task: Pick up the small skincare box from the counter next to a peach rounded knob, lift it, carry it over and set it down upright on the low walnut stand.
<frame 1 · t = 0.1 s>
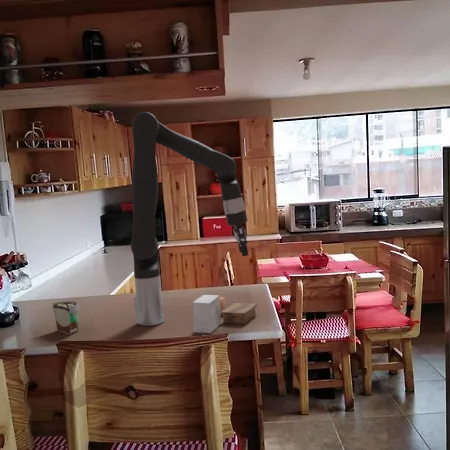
hand: (244, 253, 179), 22 cm above the kitchen counter, tool pointing down, fingers open, 8 cm apart
peach rounded knob: (219, 314, 183), on the kitchen counter
stand: (239, 318, 175), on the kitchen counter
food container: (71, 330, 176), on the kitchen counter
skincare box: (208, 328, 167), on the kitchen counter
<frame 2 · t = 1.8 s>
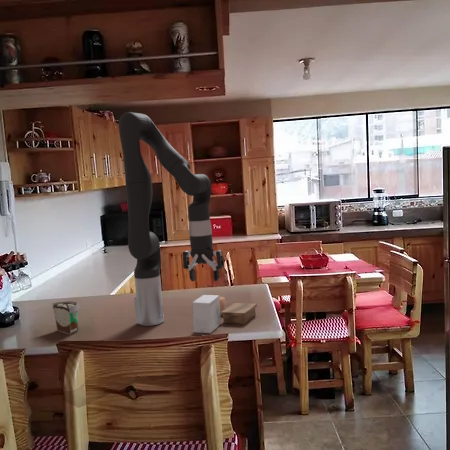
hand: (204, 280, 165), 16 cm above the kitchen counter, tool pointing down, fingers open, 8 cm apart
nothing on the kitchen counter moved.
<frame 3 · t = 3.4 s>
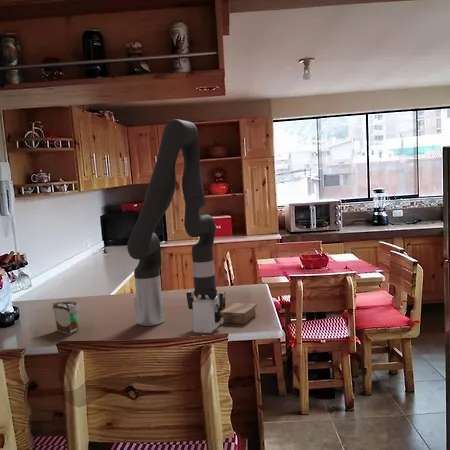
hand: (207, 321, 167), 2 cm above the kitchen counter, tool pointing down, fingers closed on skincare box, 6 cm apart
skincare box: (208, 328, 167), on the kitchen counter, touching gripper
everything else where it was.
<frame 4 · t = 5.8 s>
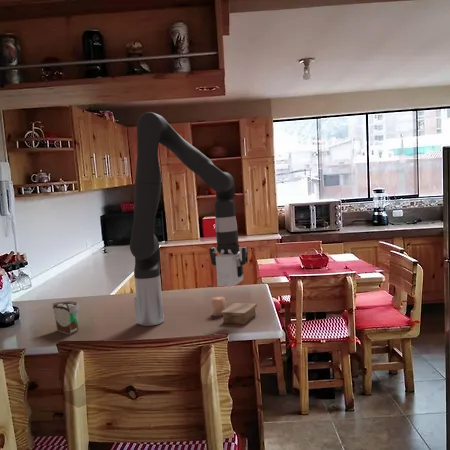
hand: (230, 276, 171), 16 cm above the kitchen counter, tool pointing down, fingers closed on skincare box, 6 cm apart
skincare box: (231, 283, 171), point 14 cm above the kitchen counter, touching gripper
everything else where it was.
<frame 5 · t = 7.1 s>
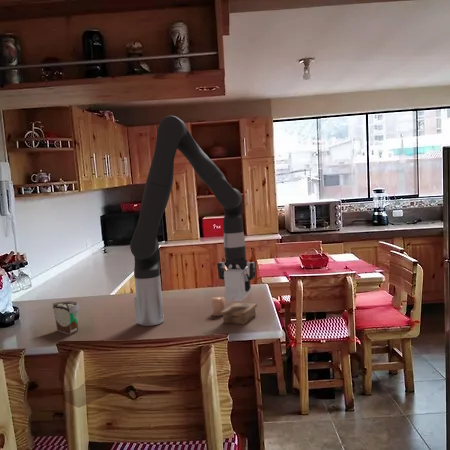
hand: (238, 290, 174), 10 cm above the kitchen counter, tool pointing down, fingers closed on skincare box, 6 cm apart
skincare box: (238, 297, 174), point 8 cm above the kitchen counter, touching gripper
everything else where it was.
when the fingers open (8 cm above the kitchen counter, at t = 8.1 s): skincare box drops 1 cm, resting on stand.
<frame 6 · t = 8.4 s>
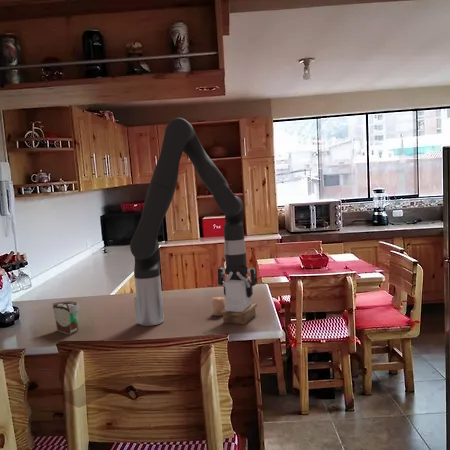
hand: (238, 296, 174), 8 cm above the kitchen counter, tool pointing down, fingers open, 8 cm apart
skincare box: (239, 308, 174), point 4 cm above the kitchen counter, touching stand
everything else where it was.
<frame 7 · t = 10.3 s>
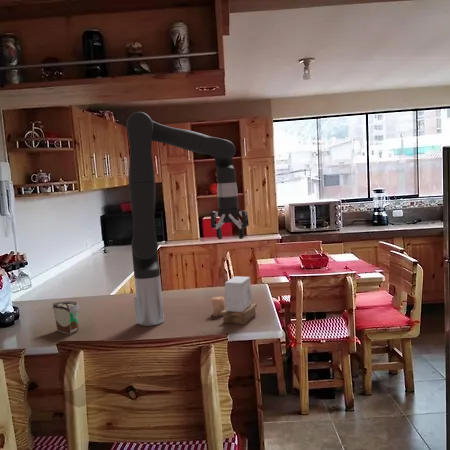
hand: (230, 238, 181), 28 cm above the kitchen counter, tool pointing down, fingers open, 8 cm apart
nothing on the kitchen counter moved.
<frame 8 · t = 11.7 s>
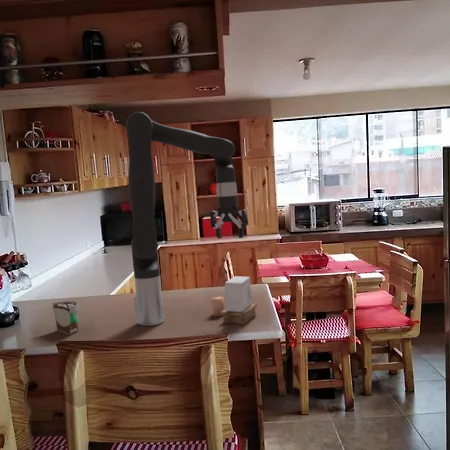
hand: (230, 238, 181), 28 cm above the kitchen counter, tool pointing down, fingers open, 8 cm apart
nothing on the kitchen counter moved.
at the end: skincare box inside the target area on the stand (0.2 cm from its centre), point 3.8 cm above the stand's base; skincare box tilted 0°; the gripper is holding nothing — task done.
